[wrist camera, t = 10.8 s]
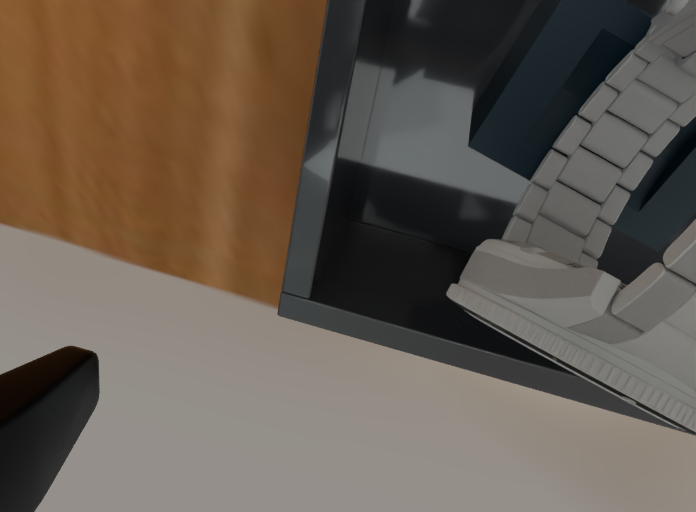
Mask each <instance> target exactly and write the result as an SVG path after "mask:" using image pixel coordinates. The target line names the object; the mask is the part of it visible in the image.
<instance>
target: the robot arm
mask: <svg viewBox="0 0 696 512" xmlns="http://www.w3.org/2000/svg"><path fill="white" fill-rule="evenodd" d="M98 398H99V360H98V356H97V354H96V353H94V352H93V351H89V350H86V349H82V348H79V347H75V346H67V347H64V348H61V349H59V350H57V351H54V352H52V353H50V354H47V355H45V356H43V357H40V358H38V359H36V360H33V361H31V362H29V363H26V364H24V365H22V366H20V367H17V368H15V369H13V370H10V371H8V372H6V373H3V374H1V375H0V512H34V511H35V510H36V508H37V507H38V505H39V504H40V503H41V501H42V499H43V498H44V496H45V494H46V493H47V491H48V489H49V488H50V486H51V485H52V483H53V481H54V479H55V477H56V476H57V474H58V472H59V471H60V469H61V467H62V465H63V463H64V462H65V460H66V458H67V457H68V455H69V453H70V451H71V450H72V448H73V446H74V444H75V443H76V441H77V439H78V437H79V436H80V434H81V432H82V430H83V429H84V427H85V425H86V423H87V422H88V420H89V418H90V416H91V415H92V413H93V411H94V409H95V407H96V405H97V402H98Z"/></svg>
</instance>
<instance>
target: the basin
mask: <svg viewBox="0 0 696 512" xmlns="http://www.w3.org/2000/svg"><path fill="white" fill-rule="evenodd" d="M540 1H541V0H327V6H326V12H325V18H324V24H323V31H322V37H321V43H320V50H319V56H318V62H317V69H316V75H315V81H314V88H313V94H312V100H311V106H310V113H309V119H308V125H307V132H306V138H305V144H304V151H303V157H302V163H301V169H300V176H299V182H298V188H297V195H296V201H295V207H294V214H293V220H292V226H291V232H290V239H289V245H288V251H287V258H286V264H285V270H284V277H283V283H282V291H281V294H280V301H279V307H278V315H279V316H281V317H285V318H288V319H292V320H295V321H299V322H302V323H306V324H309V325H313V326H316V327H319V328H323V329H326V330H330V331H333V332H337V333H340V334H344V335H347V336H351V337H354V338H358V339H361V340H365V341H368V342H372V343H375V344H379V345H382V346H386V347H389V348H393V349H396V350H400V351H403V352H407V353H410V354H414V355H417V356H421V357H424V358H428V359H431V360H434V361H438V362H441V363H445V364H448V365H452V366H455V367H459V368H462V369H466V370H470V371H473V372H476V373H480V374H483V375H487V376H490V377H494V378H497V379H501V380H504V381H508V382H511V383H514V384H518V385H521V386H525V387H528V388H532V389H535V390H539V391H543V392H546V393H550V394H553V395H556V396H560V397H563V398H567V399H571V400H574V401H578V402H581V403H584V404H588V405H591V406H595V407H598V408H602V409H605V410H609V411H613V412H616V413H619V414H622V415H626V416H630V417H633V418H637V419H640V420H643V421H647V422H650V423H654V424H657V425H661V426H664V427H668V428H671V429H675V430H678V431H682V432H685V433H689V434H692V435H696V434H693V433H691V432H688V431H685V430H682V429H680V428H677V427H675V426H672V425H670V424H668V423H666V422H664V421H662V420H660V419H658V418H656V417H655V416H653V415H651V414H649V413H647V412H645V411H643V410H641V409H639V408H637V407H636V406H634V405H632V404H630V403H628V402H626V401H624V400H622V399H621V398H619V397H617V396H615V395H613V394H611V393H609V392H608V391H606V390H604V389H602V388H600V387H598V386H597V385H595V384H593V383H591V382H589V381H587V380H585V379H584V378H582V377H580V376H578V375H576V374H574V373H573V372H571V371H569V370H567V369H565V368H563V367H562V366H560V365H558V364H556V363H554V362H553V361H551V360H549V359H547V358H545V357H543V356H542V355H540V354H538V353H536V352H534V351H533V350H531V349H529V348H527V347H525V346H524V345H522V344H520V343H518V342H516V341H515V340H513V339H511V338H509V337H507V336H506V335H504V334H502V333H500V332H499V331H497V330H495V329H493V328H492V327H490V326H488V325H486V324H485V323H483V322H481V321H479V320H478V319H476V318H474V317H473V316H471V315H470V314H469V313H467V312H466V311H464V309H462V308H461V307H460V306H458V305H457V304H456V303H454V302H453V301H452V300H450V298H449V297H448V296H447V295H446V293H447V291H448V289H449V287H450V286H451V284H458V282H459V281H460V276H461V274H462V272H463V270H464V269H465V267H466V265H467V263H468V261H469V259H470V257H471V256H472V254H473V252H474V251H475V249H476V247H477V246H480V245H481V243H482V242H484V241H485V240H487V239H500V240H501V239H502V237H503V235H504V232H505V230H506V228H507V226H508V224H509V222H510V220H511V218H512V217H514V215H513V212H514V210H515V208H516V206H517V204H518V202H519V201H520V199H521V197H522V195H523V193H524V192H525V190H526V188H527V187H528V185H529V184H530V183H532V182H531V181H529V180H527V179H526V178H524V177H522V176H520V175H518V174H517V173H515V172H513V171H511V170H509V169H508V168H506V167H504V166H502V165H500V164H499V163H497V162H495V161H493V160H491V159H490V158H488V157H486V156H484V155H482V154H481V153H479V152H477V151H475V150H473V149H472V148H470V147H468V141H469V132H470V124H471V115H472V110H473V109H474V107H475V105H476V104H477V102H478V101H479V99H480V97H481V96H482V94H483V93H484V91H485V89H486V88H487V86H488V85H489V83H490V81H491V80H492V78H493V76H494V75H495V73H496V72H497V70H498V68H499V67H500V65H501V64H502V62H503V60H504V59H505V57H506V56H507V54H508V52H509V51H510V49H511V47H512V46H513V44H514V43H515V41H516V39H517V38H518V36H519V35H520V33H521V31H522V30H523V28H524V27H525V25H526V23H527V22H528V20H529V18H530V17H531V15H532V14H533V12H534V10H535V9H536V7H537V6H538V4H539V2H540ZM625 1H627V2H629V3H631V4H632V5H634V6H636V7H638V8H639V9H641V10H643V11H644V12H646V13H648V14H650V15H651V16H653V17H655V16H656V15H658V14H659V13H660V12H662V11H663V10H664V9H666V8H667V6H668V4H669V3H670V2H671V1H672V0H625ZM533 184H534V183H533ZM538 187H539V186H538ZM540 188H541V187H540ZM542 189H543V188H542ZM544 190H545V189H544ZM596 219H597V218H596ZM695 219H696V213H695V214H694V215H693V216H692V217H691V218H690V219H689V220H688V221H687V222H686V223H685V224H684V225H683V226H682V228H681V229H680V230H679V231H678V232H677V233H676V234H675V235H674V236H673V237H672V238H671V239H670V240H669V241H668V242H667V243H666V245H665V246H664V247H663V248H662V249H661V250H660V251H659V252H657V251H655V250H654V249H652V248H650V247H648V246H646V245H645V244H643V243H641V242H639V241H637V240H636V239H634V238H632V237H630V236H628V235H627V234H625V233H623V232H621V231H619V230H618V229H616V228H614V227H612V226H610V225H609V226H610V227H611V232H610V235H609V237H608V239H607V242H606V244H605V247H604V250H603V252H602V254H601V256H600V257H599V258H597V259H595V260H597V261H598V265H597V269H598V270H601V271H604V272H606V273H608V274H610V275H612V276H613V277H615V278H617V279H619V280H620V281H621V283H623V284H626V285H629V284H630V283H631V282H633V281H634V280H635V279H636V278H637V277H638V276H640V275H641V274H642V273H643V272H644V271H645V270H646V269H647V268H649V267H650V266H651V265H653V264H655V263H661V264H663V265H665V264H664V261H663V255H664V253H665V251H666V250H667V248H668V247H669V246H670V245H671V244H672V243H673V242H674V241H675V240H676V239H677V238H678V237H679V236H680V235H681V234H682V233H683V232H684V231H685V230H686V229H687V228H688V227H689V226H690V225H691V224H692V223H693V221H694V220H695ZM598 220H599V219H598ZM603 223H604V222H603ZM605 224H606V223H605ZM607 225H608V224H607Z"/></svg>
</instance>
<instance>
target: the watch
mask: <svg viewBox="0 0 696 512" xmlns="http://www.w3.org/2000/svg"><path fill="white" fill-rule="evenodd" d="M468 147H470V148H472V149H473V150H475V151H477V152H479V153H481V154H482V155H484V156H486V157H488V158H490V159H491V160H493V161H495V162H497V163H499V164H500V165H502V166H504V167H506V168H508V169H509V170H511V171H513V172H515V173H517V174H518V175H520V176H522V177H524V178H526V179H527V180H529V181H531V182H532V183H530V184H529V185H528V187H527V188H526V190H525V192H524V193H523V195H522V197H521V199H520V201H519V202H518V204H517V206H516V208H515V210H514V212H513V215H514V217H512V218H511V220H510V222H509V224H508V226H507V228H506V230H505V232H504V235H503V237H502V239H501V240H500V239H487V240H485V241H484V242H482V243H481V245H480V246H477V247H476V249H475V251H474V252H473V254H472V256H471V257H470V259H469V261H468V263H467V265H466V267H465V269H464V270H463V272H462V274H461V276H460V281H459V282H458V284H451V286H450V287H449V289H448V291H447V293H446V295H447V296H448V297H449V298H450V300H452V301H453V302H454V303H456V304H457V305H458V306H460V307H461V308H462V309H464V311H466V312H467V313H469V314H470V315H471V316H473V317H474V318H476V319H478V320H479V321H481V322H483V323H485V324H486V325H488V326H490V327H492V328H493V329H495V330H497V331H499V332H500V333H502V334H504V335H506V336H507V337H509V338H511V339H513V340H515V341H516V342H518V343H520V344H522V345H524V346H525V347H527V348H529V349H531V350H533V351H534V352H536V353H538V354H540V355H542V356H543V357H545V358H547V359H549V360H551V361H553V362H554V363H556V364H558V365H560V366H562V367H563V368H565V369H567V370H569V371H571V372H573V373H574V374H576V375H578V376H580V377H582V378H584V379H585V380H587V381H589V382H591V383H593V384H595V385H597V386H598V387H600V388H602V389H604V390H606V391H608V392H609V393H611V394H613V395H615V396H617V397H619V398H621V399H622V400H624V401H626V402H628V403H630V404H632V405H634V406H636V407H637V408H639V409H641V410H643V411H645V412H647V413H649V414H651V415H653V416H655V417H656V418H658V419H660V420H662V421H664V422H666V423H668V424H670V425H672V426H675V427H677V428H680V429H682V430H685V431H688V432H691V433H693V434H696V219H695V220H694V221H693V223H692V224H691V225H690V226H689V227H688V228H687V229H686V230H685V231H684V232H683V233H682V234H681V235H680V236H679V237H678V238H677V239H676V240H675V241H674V242H673V243H672V244H671V245H670V246H669V247H668V248H667V250H666V251H665V253H664V255H663V261H664V264H665V265H663V264H661V263H655V264H653V265H651V266H650V267H649V268H647V269H646V270H645V271H644V272H643V273H642V274H641V275H640V276H638V277H637V278H636V279H635V280H634V281H633V282H631V283H630V284H629V285H626V284H623V283H621V281H620V280H619V279H617V278H615V277H613V276H612V275H610V274H608V273H606V272H604V271H601V270H598V269H597V265H598V261H597V260H595V259H597V258H599V257H600V256H601V254H602V252H603V250H604V247H605V244H606V242H607V239H608V237H609V235H610V232H611V227H610V226H612V227H614V228H616V229H618V230H619V231H621V232H623V233H625V234H627V235H628V236H630V237H632V238H634V239H636V240H637V241H639V242H641V243H643V244H645V245H646V246H648V247H650V248H652V249H654V250H655V251H657V252H659V251H660V250H661V249H662V248H663V247H664V246H665V245H666V243H667V242H668V241H669V240H670V239H671V238H672V237H673V236H674V235H675V234H676V233H677V232H678V231H679V230H680V229H681V228H682V226H683V225H684V224H685V223H686V222H687V221H688V220H689V219H690V218H691V217H692V216H693V215H694V214H695V213H696V0H672V1H671V2H670V3H669V4H668V6H667V8H666V9H664V10H663V11H662V12H660V13H659V14H658V15H656V16H655V17H653V16H651V15H650V14H648V13H646V12H644V11H643V10H641V9H639V8H638V7H636V6H634V5H632V4H631V3H629V2H627V1H625V0H541V1H540V2H539V4H538V6H537V7H536V9H535V10H534V12H533V14H532V15H531V17H530V18H529V20H528V22H527V23H526V25H525V27H524V28H523V30H522V31H521V33H520V35H519V36H518V38H517V39H516V41H515V43H514V44H513V46H512V47H511V49H510V51H509V52H508V54H507V56H506V57H505V59H504V60H503V62H502V64H501V65H500V67H499V68H498V70H497V72H496V73H495V75H494V76H493V78H492V80H491V81H490V83H489V85H488V86H487V88H486V89H485V91H484V93H483V94H482V96H481V97H480V99H479V101H478V102H477V104H476V105H475V107H474V109H473V110H472V115H471V124H470V132H469V141H468ZM533 183H534V184H533ZM538 186H539V187H538ZM540 187H541V188H540ZM542 188H543V189H542ZM544 189H545V190H544ZM596 218H597V219H596ZM598 219H599V220H598ZM603 222H604V223H603ZM605 223H606V224H605ZM607 224H608V225H607ZM609 225H610V226H609Z"/></svg>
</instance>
